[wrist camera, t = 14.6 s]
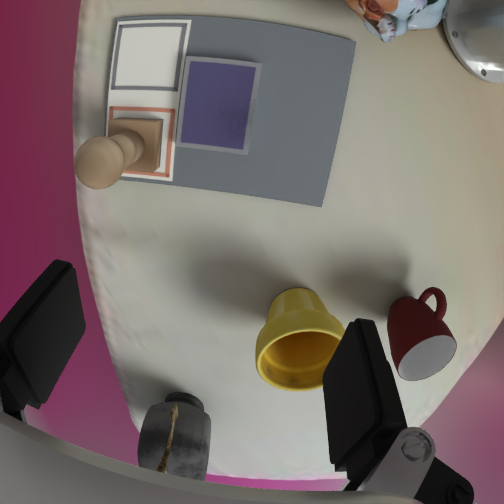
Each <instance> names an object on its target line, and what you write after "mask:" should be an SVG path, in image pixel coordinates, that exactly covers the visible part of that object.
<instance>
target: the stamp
mask: <svg viewBox="0 0 504 504" xmlns="http://www.w3.org/2000/svg"><path fill="white" fill-rule="evenodd" d="M163 121H164V119H149V118H126V117H118V118H114V119H111V120H108V137H106V136H97V137H93V138H91V139H89V140H87V141H86V142H85V143H83V144H82V145H81V147H80V148H79V150H78V151H77V153H76V156H75V161H74V168H75V173H76V175H77V177H78V179H79V180H80V181H81V182H82V183H83V184H84V185H85V186H87V187H89V188H92V189H104V188H107V187H110V186H111V185H113V184H114V183H116V182H117V181H118V180H119V178H120V177H121V175H122V173H123V171H124V170H125V171H136V172H146V173H153V172H154V171H156V170H157V169H158V168H159V167H160V159H161V145H162V133H163Z"/></svg>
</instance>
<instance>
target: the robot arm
mask: <svg viewBox="0 0 504 504" xmlns="http://www.w3.org/2000/svg"><path fill="white" fill-rule="evenodd" d="M447 15H448V17H446V18H445V19H442V23H443V27H444V32H445V35H446V37H447V40H448V43H449V45H450V47H451V48H452V50H453V52H454V54H455V55H456V57H457V58H458V60H459V61H460V62H461V63H462V65H463V66H464V67H465V68H466V69H467V70H468V71H469V72H471V73H472V74H473V75H474V76H476V77H478V78H479V79H481V80H484V81H487V82H492V83H503V82H504V0H450V4H449V7H448V10H447ZM85 327H86V324H85V319H84V314H83V310H82V305H81V299H80V294H79V288H78V282H77V275H76V270H75V268H73V267H72V264H71V263H69V262H66V261H62V260H58V259H56V260H54V261H53V262H52V263H51V264H50V265H49V266H48V267H47V268H46V270H45V271H44V272H43V273H42V274H41V275H40V276H39V277H38V278H37V280H35V282H34V283H33V284H32V285H31V286H30V287H29V289H28V290H27V291H26V292H25V293H24V294H23V295H22V297H21V298H20V299H19V300H18V301H17V303H16V304H15V305H14V306H13V307H12V309H11V310H10V311H9V312H8V313H7V315H6V316H5V317H4V318H3V320H2V321H1V323H0V504H474V503H473V500H474V491H473V487H472V486H471V484H470V482H469V481H468V480H466V479H465V478H464V477H462V476H461V475H459V474H458V473H457V472H455V471H454V470H453V469H451V468H450V467H448V466H447V465H445V464H444V463H443V462H442V461H440V460H438V459H437V458H436V457H435V451H436V450H435V443H434V441H433V439H432V437H431V436H430V434H428V433H427V432H426V431H425V430H423V429H421V428H418V427H407V423H406V419H405V415H404V411H403V408H402V404H401V400H400V397H399V393H398V390H397V386H396V383H395V379H394V376H393V372H392V369H391V366H390V364H389V362H388V361H387V359H386V356H385V353H384V350H383V347H382V343H381V340H380V337H379V334H378V331H377V328H376V325H375V322H374V321H373V320H368V319H360V318H357V319H356V320H355V321H354V322H350V323H349V325H348V327H347V329H346V331H345V333H344V335H343V337H342V339H341V340H340V342H339V344H338V346H337V348H336V350H335V352H334V354H333V356H332V358H331V360H330V361H329V363H328V365H327V367H326V369H325V371H324V373H323V378H322V382H323V391H324V401H325V411H326V421H327V432H328V443H329V456H330V462H331V464H335V472H342V471H347V479H348V481H347V482H346V483H345V484H344V485H343V487H342V488H341V489H340V490H339V491H294V490H275V489H261V488H250V487H241V486H233V485H225V484H219V483H211V482H206V481H200V480H195V479H189V478H184V477H180V476H175V475H170V474H166V473H162V472H158V471H154V470H150V469H146V468H142V467H138V466H135V465H131V464H128V463H125V462H122V461H118V460H115V459H112V458H109V457H106V456H103V455H100V454H97V453H95V452H91V451H89V450H86V449H83V448H81V447H78V446H76V445H73V444H71V443H68V442H66V441H63V440H61V439H59V438H56V437H54V436H52V435H50V434H47V433H45V432H43V431H41V430H39V429H37V428H34V427H32V426H30V425H28V424H27V421H26V416H25V412H24V408H25V406H26V404H28V405H30V406H32V407H34V408H36V409H39V408H40V406H41V404H42V403H46V401H47V400H48V398H49V396H50V394H51V392H52V390H53V388H54V386H55V384H56V383H57V381H58V379H59V376H60V375H61V373H62V371H63V370H64V368H65V366H66V364H67V362H68V360H69V359H70V357H71V355H72V353H73V352H74V350H75V348H76V346H77V345H78V343H79V341H80V339H81V338H82V336H83V334H84V332H85ZM476 504H478V503H476Z"/></svg>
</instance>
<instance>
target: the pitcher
mask: <svg viewBox="0 0 504 504" xmlns="http://www.w3.org/2000/svg"><path fill="white" fill-rule="evenodd" d="M210 437H211V419H210V417H209V415H208V414H207V413H205V412H204V407H203V403H202V402H201V401H200V400H199V399H198V398H196V397H194V396H192V395H189V394H185V393H173V394H170V395H169V396H168V397H167V398H166V399H165V402H164V403H160V404H156V405H153V406H151V407H150V408H149V410H148V411H147V414H146V416H145V419H144V421H143V425H142V428H141V432H140V438H139V443H138V462H139V467H142V468H146V469H150V470H154V471H158V472H162V473H166V474H170V475H175V476H180V477H184V478H189V479H195V480H200V481H205V476H206V471H207V465H208V458H209V449H210Z"/></svg>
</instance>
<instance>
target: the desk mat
mask: <svg viewBox="0 0 504 504" xmlns="http://www.w3.org/2000/svg"><path fill="white" fill-rule="evenodd" d="M136 20H192V21H191V27H190V32H189V38H188V45H187V51H186V56H195V57H209V58H221V59H231V60H240V61H248V62H255V63H262V69H261V75H260V81H259V87H258V93H257V100H256V106H255V112H254V118H253V125H252V131H251V137H250V144H249V150H248V155H242V154H235V153H228V152H220V151H212V150H204V149H195V148H186V147H176V142H175V153H174V166H173V179H172V181H165V180H156V179H146V178H136V177H126V176H121V177H120V178H119V180H128V181H138V182H147V183H157V184H166V185H174V186H183V187H191V188H199V189H206V190H214V191H221V192H229V193H236V194H243V195H249V196H256V197H263V198H269V199H275V200H282V201H288V202H294V203H300V204H305V205H311V206H317V207H322V204H323V199H324V195H325V191H326V187H327V183H328V179H329V174H330V170H331V166H332V161H333V157H334V152H335V148H336V143H337V139H338V134H339V129H340V125H341V120H342V115H343V110H344V105H345V100H346V95H347V90H348V85H349V79H350V74H351V69H352V63H353V57H354V52H355V46H356V42H355V41H352V40H348V39H344V38H341V37H337V36H333V35H329V34H325V33H320V32H316V31H312V30H307V29H302V28H297V27H292V26H286V25H280V24H274V23H268V22H261V21H253V20H244V19H235V18H223V17H208V16H174V15H171V16H137V17H123V18H117V19H116V25H115V31H114V37H113V44H112V51H111V59H110V67H109V77H108V87H107V99H106V113H105V133H104V136H106V125H107V108H108V94H109V83H110V73H111V65H112V57H113V49H114V42H115V35H116V29H117V23H118V22H121V21H136ZM185 62H186V58H185ZM184 69H185V65H184ZM183 76H184V72H183ZM182 84H183V79H182ZM181 92H182V87H181ZM180 100H181V95H180ZM179 109H180V103H179ZM178 118H179V112H178ZM177 127H178V121H177ZM176 138H177V131H176Z"/></svg>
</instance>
